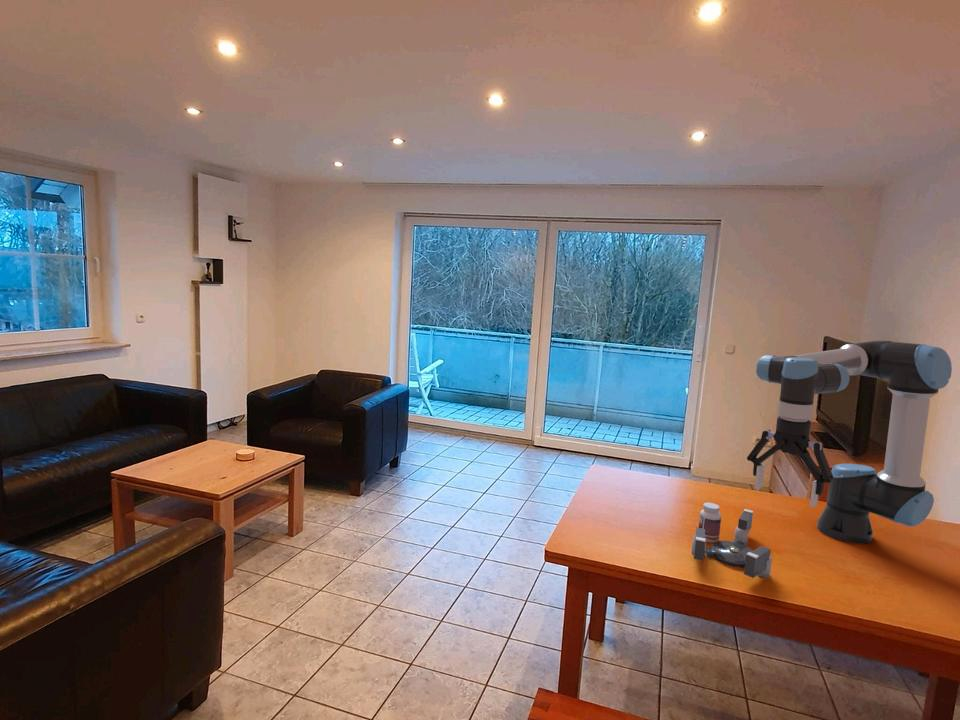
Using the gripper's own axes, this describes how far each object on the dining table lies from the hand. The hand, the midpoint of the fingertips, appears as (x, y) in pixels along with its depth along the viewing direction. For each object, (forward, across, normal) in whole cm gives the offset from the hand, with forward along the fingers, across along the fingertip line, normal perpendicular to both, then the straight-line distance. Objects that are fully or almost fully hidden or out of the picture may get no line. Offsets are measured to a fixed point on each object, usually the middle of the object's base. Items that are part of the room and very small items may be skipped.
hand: (784, 496), depth 140 cm
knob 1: (+25, +18, -18) cm, 36 cm away
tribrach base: (+25, +14, -5) cm, 29 cm away
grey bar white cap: (+25, +4, +1) cm, 25 cm away
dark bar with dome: (+25, +19, +5) cm, 32 cm away
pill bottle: (+25, +24, -10) cm, 36 cm away
